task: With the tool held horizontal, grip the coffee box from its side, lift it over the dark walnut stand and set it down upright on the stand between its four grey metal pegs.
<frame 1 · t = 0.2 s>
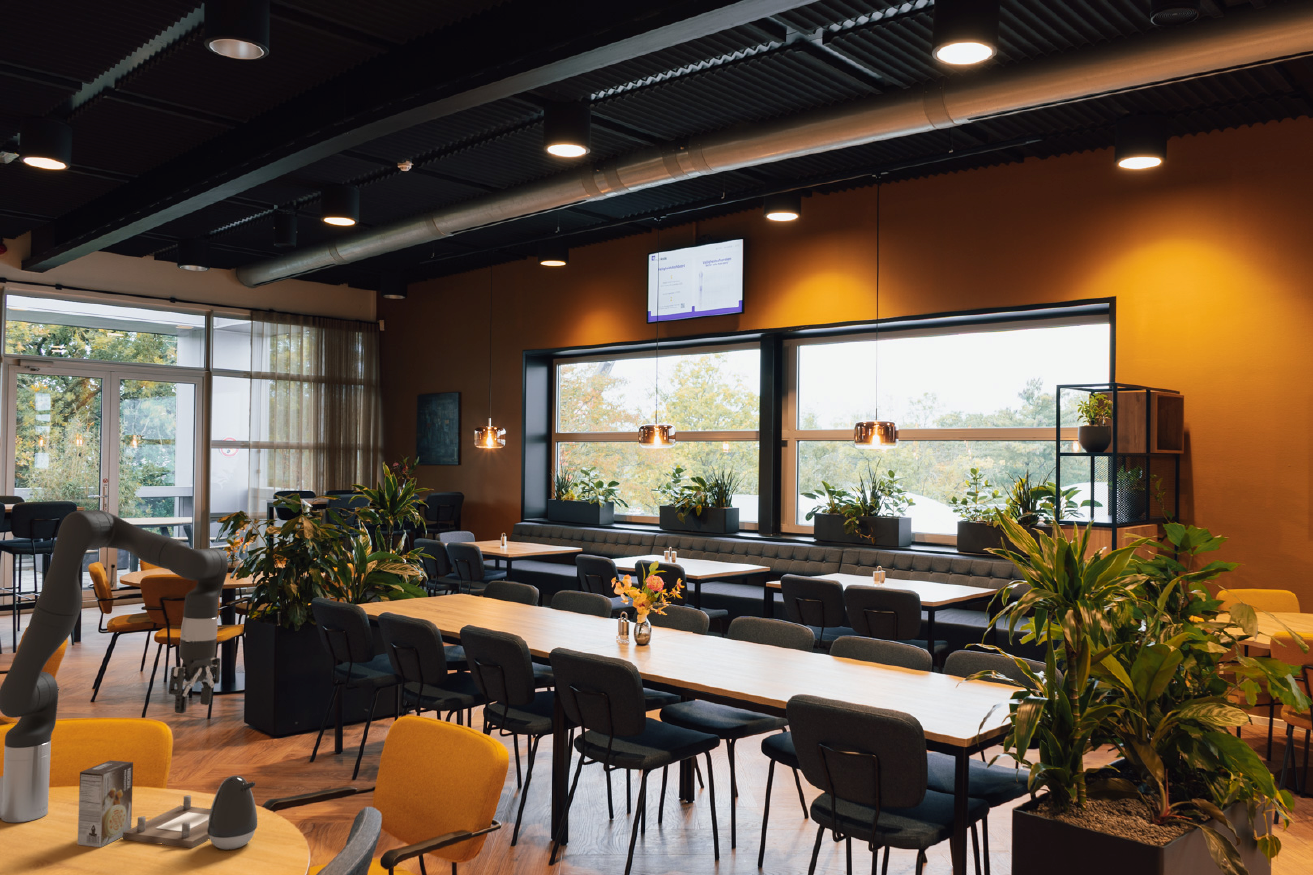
hand: (192, 708, 219), 29 cm above the table, tool pointing down, fingers open, 8 cm apart
pump dispenser: (232, 845, 214), on the table
peg stand: (186, 828, 222), on the table
coffee box: (104, 839, 216), on the table
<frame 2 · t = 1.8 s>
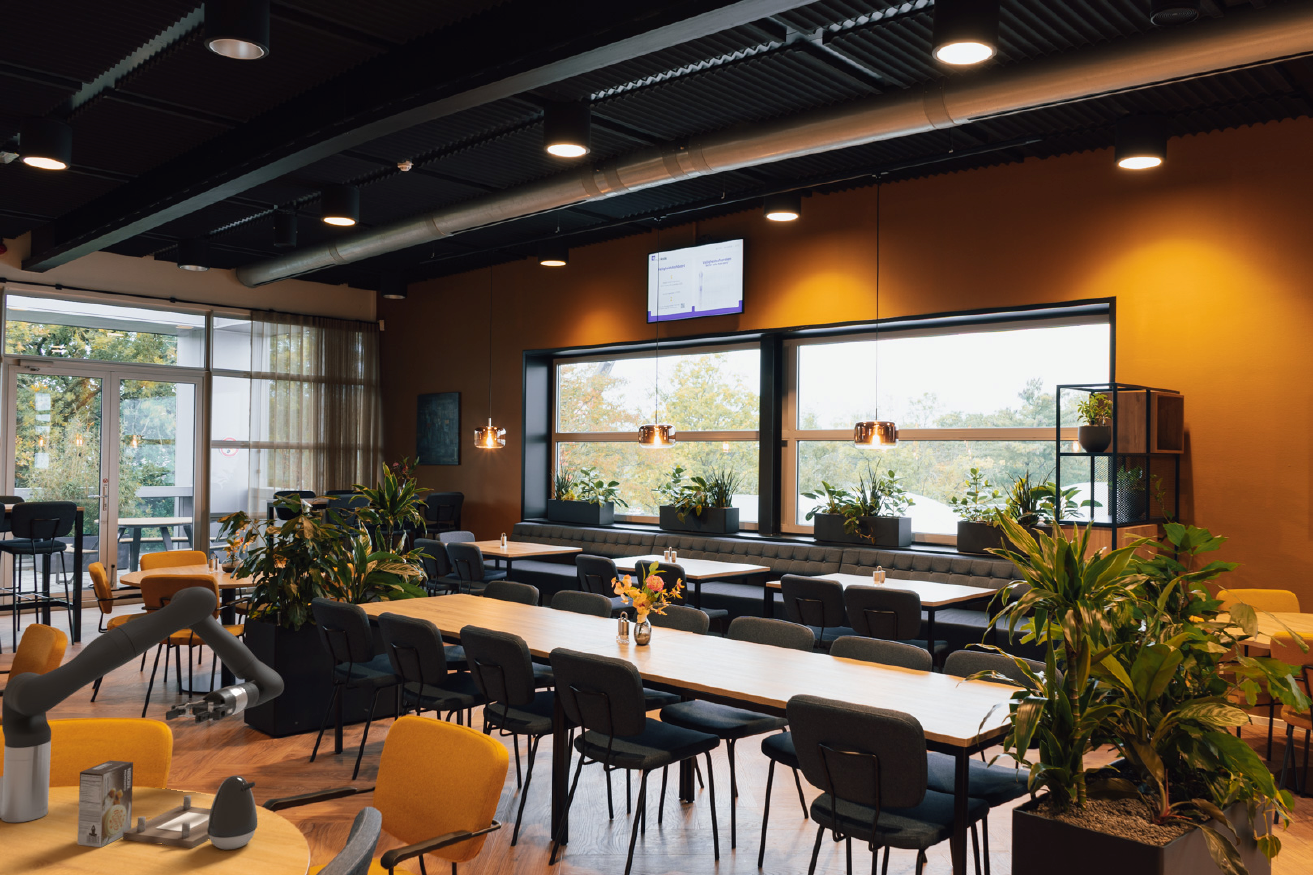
hand: (181, 717, 239), 21 cm above the table, tool horizontal, fingers open, 8 cm apart
nothing on the table moved.
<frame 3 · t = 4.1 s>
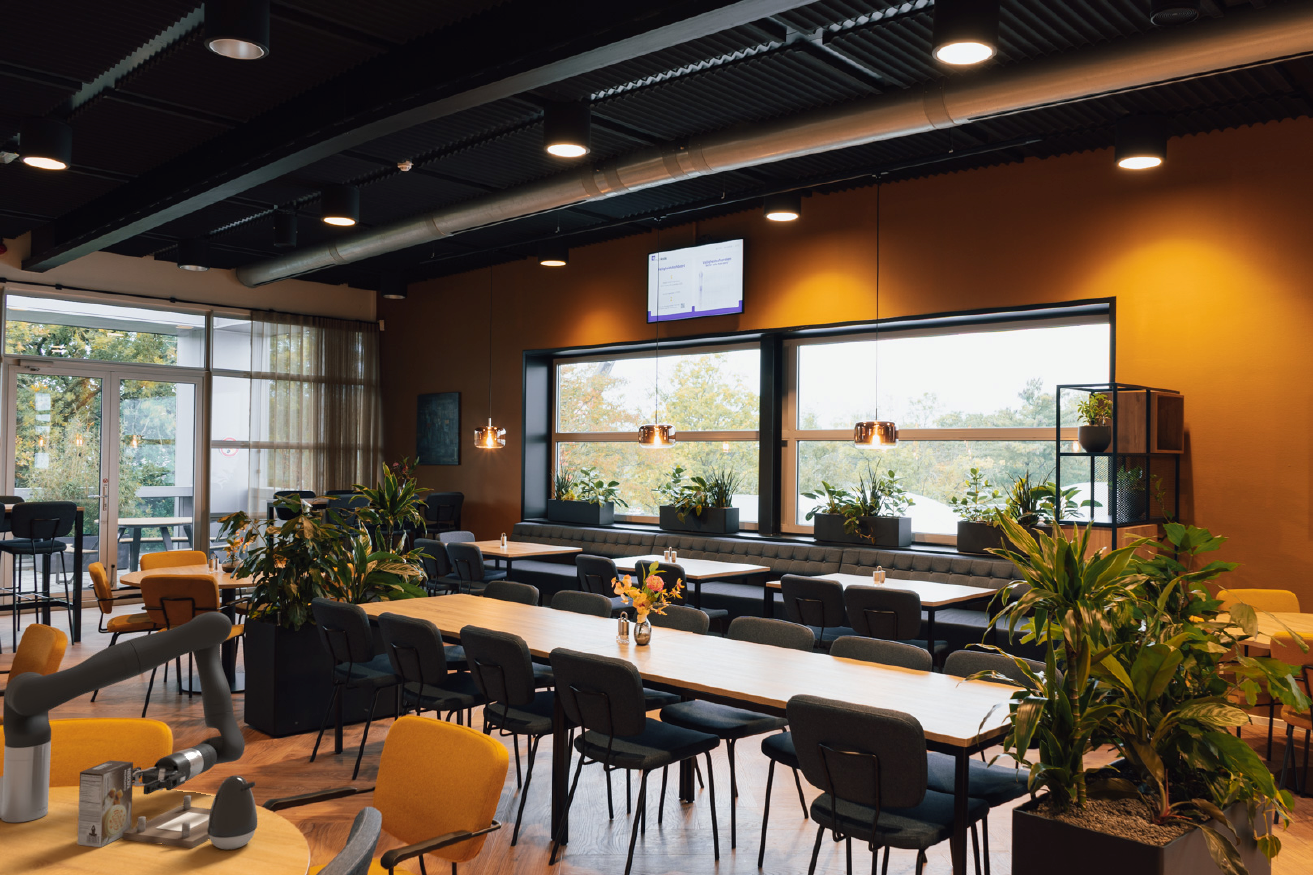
hand: (129, 788, 223), 9 cm above the table, tool horizontal, fingers open, 8 cm apart
nothing on the table moved.
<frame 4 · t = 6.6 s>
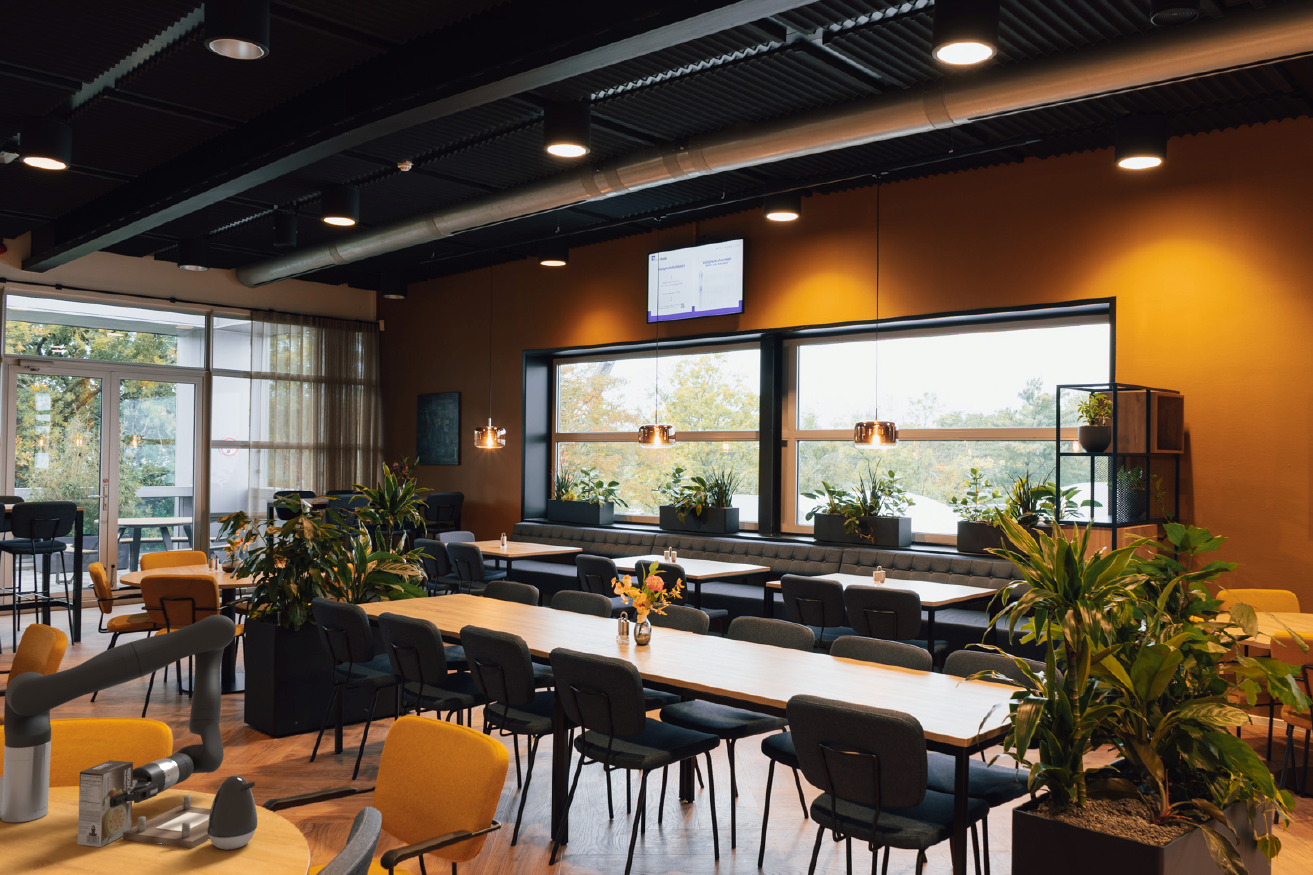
hand: (98, 801, 214), 9 cm above the table, tool horizontal, fingers closed on coffee box, 6 cm apart
coffee box: (104, 839, 216), on the table, touching gripper
everything else where it was.
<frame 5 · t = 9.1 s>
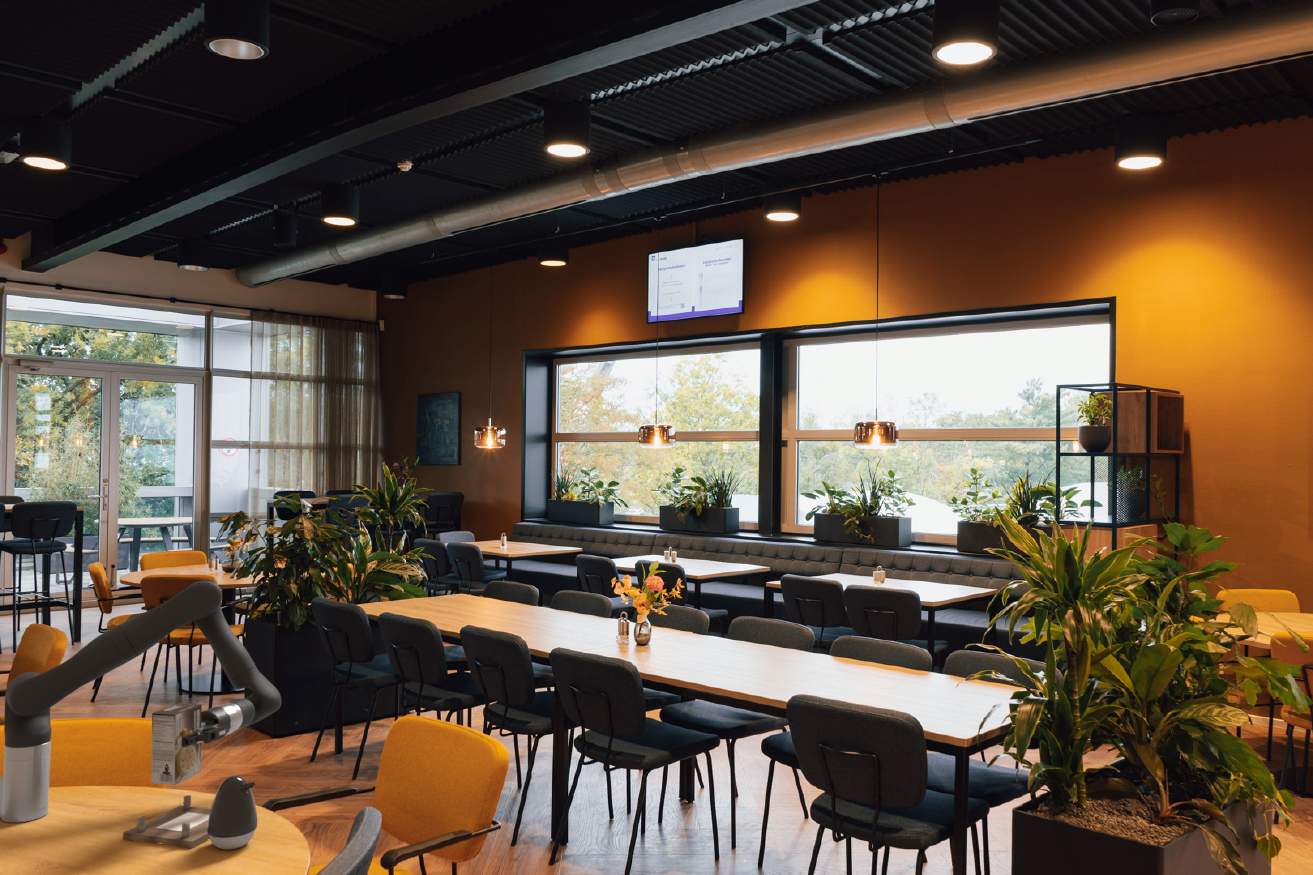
hand: (170, 741, 220), 21 cm above the table, tool horizontal, fingers closed on coffee box, 6 cm apart
coffee box: (176, 778, 222), point 12 cm above the table, touching gripper
everything else where it was.
when the fingers open (12 cm above the table, at t = 11.6 s): coffee box drops 1 cm, resting on peg stand.
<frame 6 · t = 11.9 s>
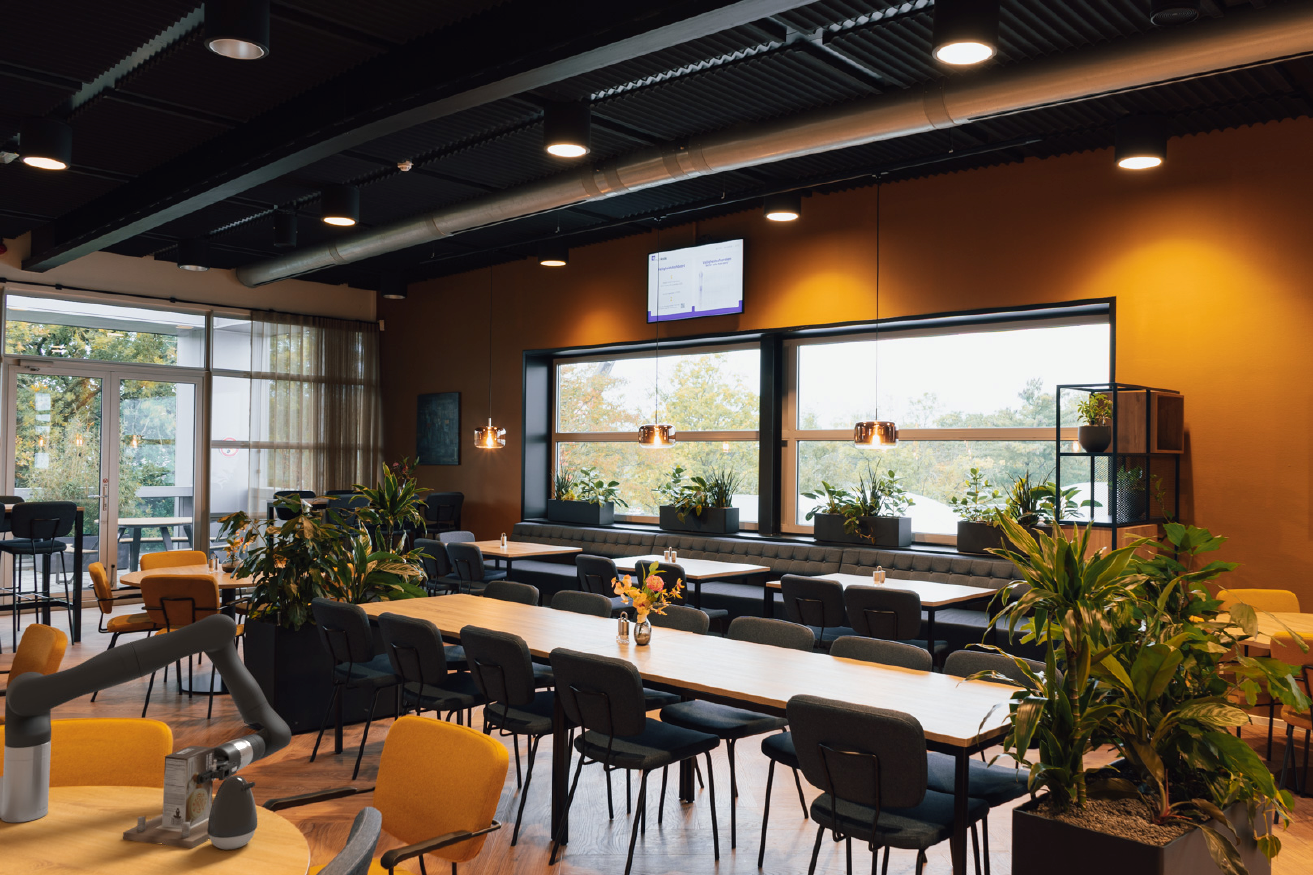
hand: (182, 778, 221), 12 cm above the table, tool horizontal, fingers open, 8 cm apart
coffee box: (186, 822, 222), point 2 cm above the table, touching peg stand
everything else where it was.
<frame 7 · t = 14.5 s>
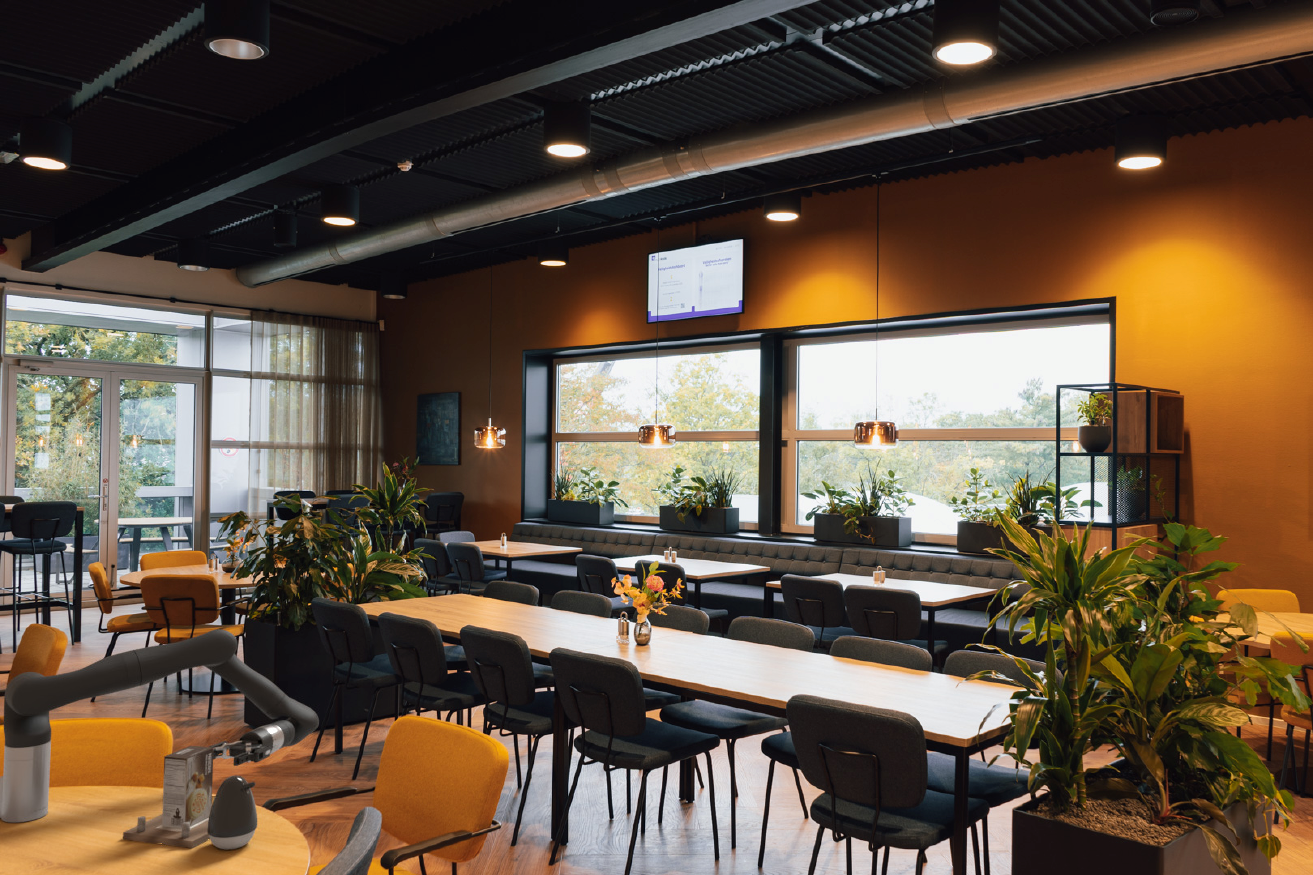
hand: (219, 759, 234), 13 cm above the table, tool horizontal, fingers open, 8 cm apart
nothing on the table moved.
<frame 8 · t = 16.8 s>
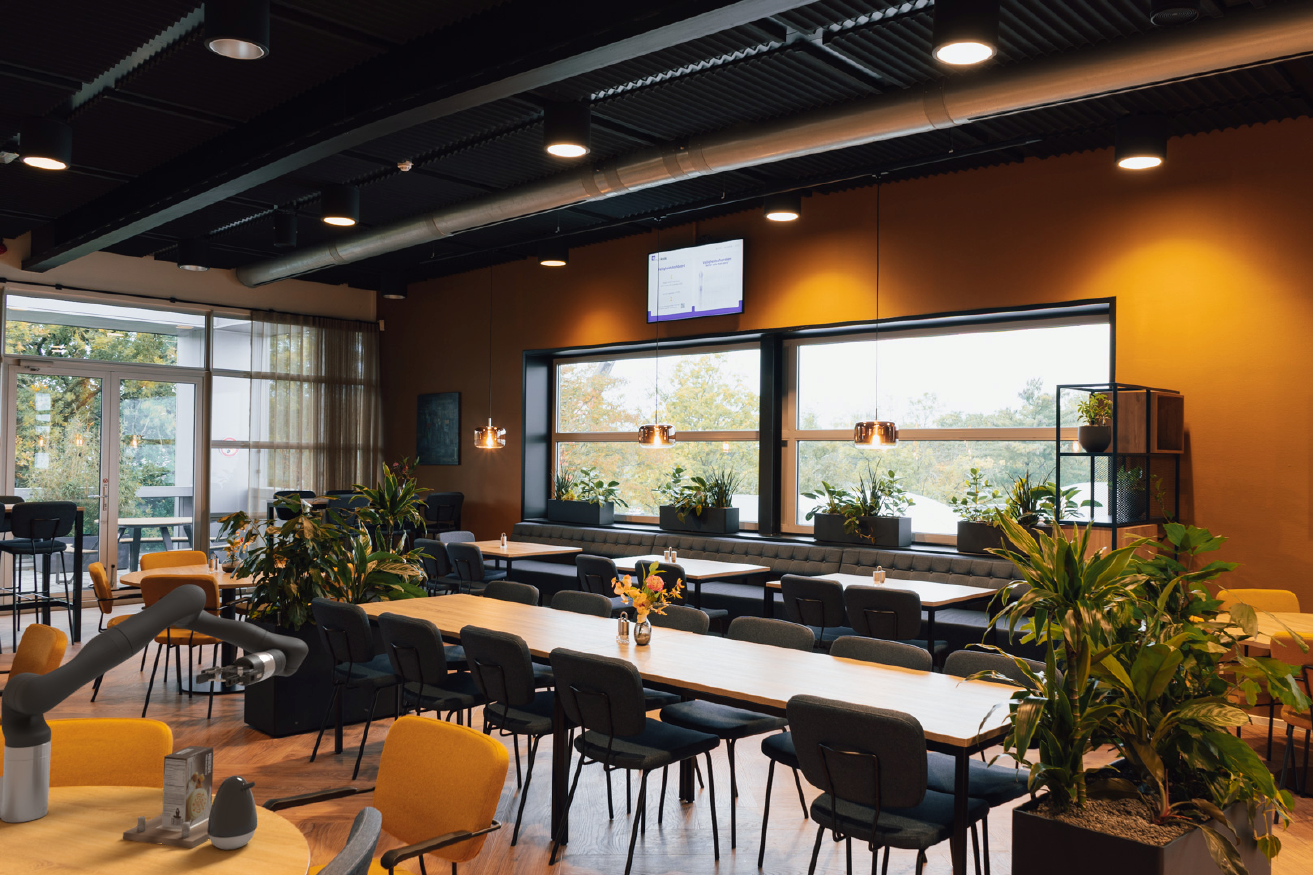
hand: (212, 681, 241), 30 cm above the table, tool horizontal, fingers open, 8 cm apart
nothing on the table moved.
at the end: coffee box 0.1 cm off-centre on the peg stand, point 1.5 cm above the peg stand's base; coffee box tilted 0°; the gripper is holding nothing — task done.
